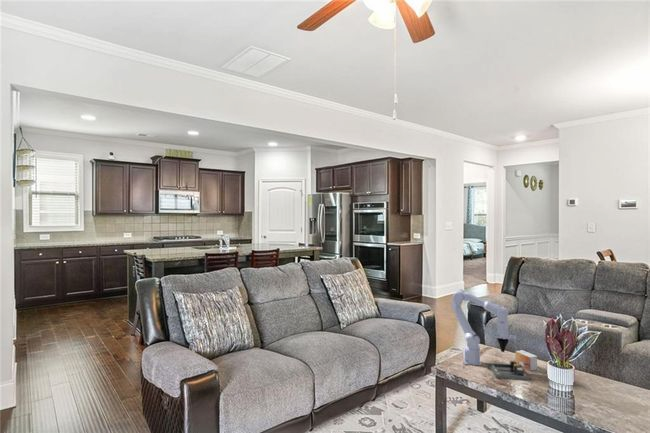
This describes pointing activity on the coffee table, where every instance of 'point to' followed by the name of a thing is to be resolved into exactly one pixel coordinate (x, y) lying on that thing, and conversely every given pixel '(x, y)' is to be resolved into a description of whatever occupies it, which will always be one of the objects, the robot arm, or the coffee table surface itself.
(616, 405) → the coffee table surface
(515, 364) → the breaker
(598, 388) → the coffee table surface
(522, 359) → the small box
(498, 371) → the breaker panel
